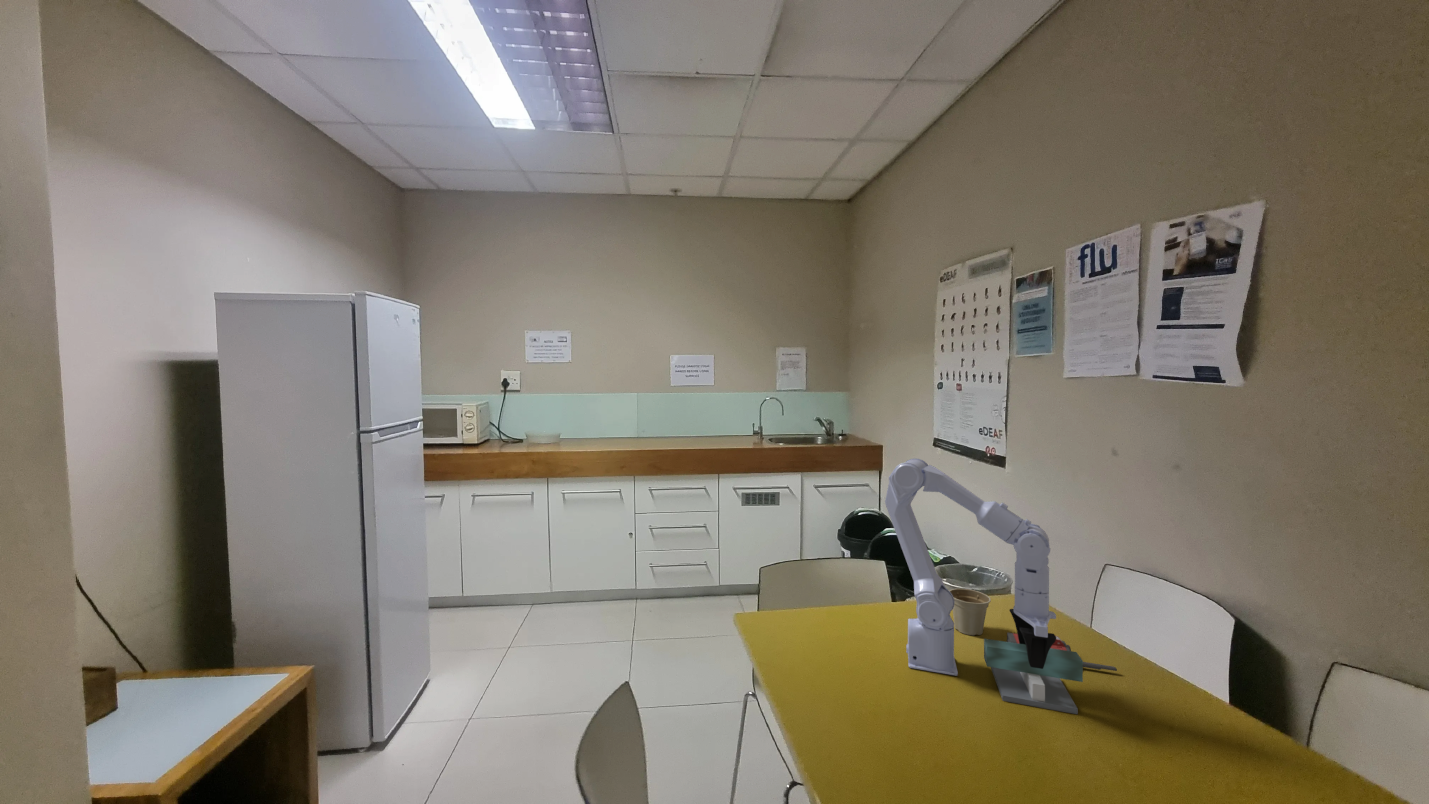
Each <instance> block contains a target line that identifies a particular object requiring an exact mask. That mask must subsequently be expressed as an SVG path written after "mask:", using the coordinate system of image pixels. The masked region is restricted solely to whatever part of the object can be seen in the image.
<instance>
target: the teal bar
mask: <svg viewBox="0 0 1429 804" xmlns="http://www.w3.org/2000/svg"><path fill="white" fill-rule="evenodd" d="M983 659H984V662H985V665H986V667H988V668H991V667H993V668H999V669H1006V670H1012V671H1018V672H1024V673H1030V674H1036V675H1042V676H1048V677H1055V678H1060V680H1066V681H1067V680H1068V681H1074V682H1080V683H1083V682H1084V680H1083V679H1084V678H1083V672H1084V670H1083V669H1084V667H1083V662H1084V660H1083V659H1082V658H1081V657H1080V655H1079V654H1078V652H1077V651H1073V650H1071V651H1066V650H1059V649H1052V648H1050V650H1049V652H1048V654H1047V658H1046V661H1045V665H1044V667H1043V669H1040V668H1033V667H1031V666H1030V664H1029V661H1028V655H1027V648H1026V645H1025V644H1018V643H1011V642H1007V641H1003V640H999V639H998V640H997V639H996V640H995V639H988V638H983Z"/></svg>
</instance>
